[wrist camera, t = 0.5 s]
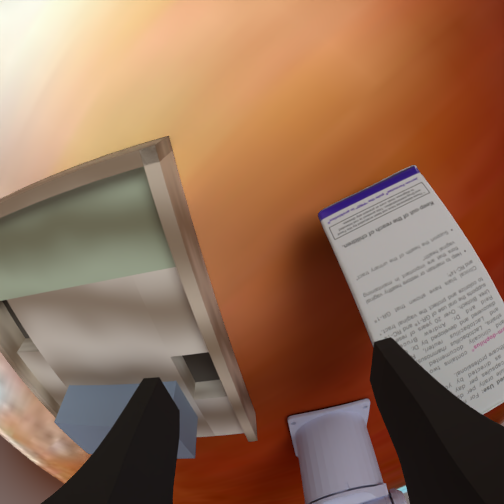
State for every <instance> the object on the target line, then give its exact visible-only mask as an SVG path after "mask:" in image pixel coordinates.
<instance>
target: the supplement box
mask: <svg viewBox="0 0 504 504" xmlns="http://www.w3.org/2000/svg"><path fill="white" fill-rule="evenodd" d="M318 217H319V220H320V222H321V224H322V226H323V229H324V231H325V233H326V235H327V238H328V240H329V242H330V244H331V247H332V249H333V251H334V253H335V256H336V258H337V260H338V263H339V265H340V267H341V269H342V272H343V274H344V276H345V279H346V281H347V283H348V286H349V288H350V290H351V293H352V295H353V298H354V300H355V302H356V305H357V307H358V310H359V312H360V315H361V317H362V320H363V322H364V324H365V327H366V329H367V332H368V334H369V337H370V340H371V342H372V345H373V347H374V342H375V341H379V340H383V339H386V338H390V337H391V338H393V339H394V340H395V341H396V342H397V343H398V344H399V345H400V346H401V347H402V348H403V349H404V350H405V351H406V352H407V353H408V354H409V355H410V356H411V357H412V358H413V359H414V360H415V361H416V362H417V363H418V364H419V365H420V366H422V367H423V368H424V369H425V370H426V371H427V372H428V373H429V374H430V375H431V376H433V377H434V378H435V379H436V380H437V381H438V382H439V383H441V384H442V385H443V386H444V387H445V388H446V389H448V390H449V391H450V392H452V393H453V394H454V395H455V396H457V397H458V398H459V399H460V400H462V401H463V402H465V403H466V404H467V405H469V406H470V407H472V408H473V409H475V410H476V411H478V412H479V413H481V414H482V415H483V414H484V413H486V412H488V411H490V410H491V409H493V408H495V407H496V406H498V405H500V404H501V403H503V402H504V303H503V301H502V299H501V297H500V295H499V293H498V291H497V289H496V287H495V285H494V283H493V282H492V280H491V278H490V276H489V275H488V273H487V271H486V269H485V268H484V266H483V264H482V262H481V261H480V259H479V257H478V256H477V254H476V252H475V251H474V249H473V247H472V246H471V244H470V243H469V241H468V239H467V238H466V236H465V235H464V233H463V232H462V230H461V229H460V227H459V226H458V224H457V223H456V221H455V220H454V218H453V217H452V215H451V214H450V213H449V211H448V210H447V208H446V207H445V205H444V204H443V203H442V201H441V200H440V198H439V197H438V196H437V194H436V193H435V192H434V190H433V189H432V188H431V186H430V185H429V183H428V182H427V181H426V179H425V178H424V177H423V176H422V174H421V173H420V172H419V170H418V169H417V167H416V166H415V165H412V166H410V167H407V168H405V169H403V170H401V171H399V172H397V173H395V174H393V175H391V176H389V177H387V178H385V179H383V180H381V181H379V182H377V183H375V184H373V185H371V186H369V187H367V188H365V189H363V190H361V191H359V192H357V193H355V194H353V195H350V196H348V197H346V198H344V199H342V200H340V201H338V202H336V203H334V204H332V205H330V206H328V207H327V208H324V209H323V210H321V211H320V212H319V213H318Z"/></svg>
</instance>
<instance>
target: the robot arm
mask: <svg viewBox="0 0 504 504" xmlns="http://www.w3.org/2000/svg"><path fill="white" fill-rule="evenodd" d="M370 382H371V385H372V389H373V392H374V396H375V399H376V403H377V406H378V408H379V411H380V413H381V415H382V418H383V420H384V423H385V425H386V427H387V430H388V432H389V435H390V437H391V440H392V442H393V444H394V447H395V449H396V452H397V454H398V457H399V460H400V463H401V467H402V470H403V474H404V478H405V482H406V487H407V491H408V496H409V501H410V504H504V427H503V426H502V425H500V424H498V423H496V422H494V421H492V420H490V419H489V418H487V417H486V416H484V415H482V414H481V413H479V412H478V411H476V410H475V409H473V408H472V407H470V406H469V405H467V404H466V403H465V402H463V401H462V400H460V399H459V398H458V397H457V396H455V395H454V394H453V393H452V392H450V391H449V390H448V389H446V388H445V387H444V386H443V385H442V384H441V383H439V382H438V381H437V380H436V379H435V378H434V377H433V376H431V375H430V374H429V373H428V372H427V371H426V370H425V369H424V368H423V367H422V366H420V365H419V364H418V363H417V362H416V361H415V360H414V359H413V358H412V357H411V356H410V355H409V354H408V353H407V352H406V351H405V350H404V349H403V348H402V347H401V346H400V345H399V344H398V343H397V342H396V341H395V340H394V339H393V338H391V337H390V338H386V339H383V340H379V341H375V342H374V348H373V358H372V367H371V375H370ZM369 408H370V400H369V399H363V400H359V401H355V402H352V403H348V404H344V405H339V406H335V407H331V408H326V409H322V410H317V411H312V412H307V413H302V414H297V415H292V416H289V417H288V425H289V429H290V433H291V438H292V442H293V446H294V450H295V455H296V456H297V457H299V464H300V470H301V477H302V484H303V491H304V497H305V504H407V502H406V500H405V497H404V495H403V493H402V492H401V491H399V490H396V489H395V488H392V489H390V490H387V486H386V483H383V480H382V477H381V473H380V470H379V466H378V463H377V460H376V456H375V453H374V450H373V446H372V443H371V440H370V437H369V433H368V430H367V427H366V426H367V420H368V414H369ZM179 437H180V410H179V409H178V407H177V405H176V404H175V402H174V401H173V399H172V397H171V396H170V394H169V392H168V391H167V389H166V387H165V386H164V384H163V382H162V381H161V379H160V377H154V378H143V380H142V381H141V383H140V384H139V386H138V387H137V389H136V391H135V392H134V394H133V395H132V397H131V399H130V400H129V402H128V403H127V405H126V407H125V408H124V410H123V411H122V413H121V414H120V416H119V417H118V419H117V420H116V422H115V424H114V425H113V427H112V428H111V430H110V431H109V432H108V434H107V435H106V437H105V438H104V439H103V441H102V442H101V443H100V445H99V446H98V448H97V449H96V450H95V452H94V453H93V454H92V455H91V457H90V458H89V459H88V460H87V461H86V462H85V464H84V465H83V466H82V467H81V468H80V469H79V470H78V471H77V472H76V473H75V474H74V475H73V476H72V477H71V478H70V479H69V480H68V481H67V482H66V483H65V484H64V485H63V486H62V487H61V488H60V489H59V490H58V491H56V492H55V493H54V494H53V495H52V496H50V497H49V498H48V499H46V500H45V501H44V502H42V503H41V504H173V485H174V476H175V468H176V461H177V453H178V445H179ZM388 491H389V494H388Z"/></svg>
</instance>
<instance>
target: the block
mask: <svg viewBox="0 0 504 504" xmlns="http://www.w3.org/2000/svg"><path fill="white" fill-rule="evenodd" d="M163 384H164V386H165V387H166V389H167V391H168V392H169V394H170V396H171V397H172V399H173V401H174V402H175V404H176V405H177V407H178V409H179V410H180V437H179V445H178V453H177V459H180V458H195V450H196V435H197V421H198V416H197V415H196V413H195V412H194V410H193V408H192V407H191V405H190V403H189V402H188V400H187V398H186V397H185V395H184V393H183V392H182V390H181V388H180V386H179V385H178V383H177V381H168V382H163ZM138 386H139V384H120V385H69V387H68V389H67V391H66V394H65V396H64V399H63V401H62V404H61V406H60V409H59V411H58V414H57V417H56V419H55V423H56V424H57V425H58V426H59V427H60V428H61V429H62V430H63V431H64V432H65V433H66V434H67V435H68V436H69V437H70V438H71V439H72V440H73V441H74V442H75V443H77V444H78V445H79V446H80V447H81V448H82V449H83V450H84V451H86V452H87V453H88V454H93V453H94V452H95V450H96V449H97V448H98V446H99V445H100V443H101V442H102V441H103V439H104V438H105V437H106V435H107V434H108V432H109V431H110V430H111V428H112V427H113V425H114V424H115V422H116V420H117V419H118V417H119V416H120V414H121V413H122V411H123V410H124V408H125V407H126V405H127V403H128V402H129V400H130V399H131V397H132V395H133V394H134V392H135V391H136V389H137V387H138Z"/></svg>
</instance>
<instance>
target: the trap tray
mask: <svg viewBox="0 0 504 504" xmlns="http://www.w3.org/2000/svg"><path fill="white" fill-rule="evenodd" d="M0 352H1V353H2V354H3V356H4V357H5V359H6V360H7V361H8V363H9V364H10V365H11V366H12V368H13V369H14V370H15V372H16V373H17V374H18V375H19V377H20V378H21V379H22V380H23V382H24V383H25V384H26V385H27V386H28V388H29V389H30V390H31V391H32V392H33V393H34V395H35V396H36V397H37V398H38V399H39V400H40V401H41V403H42V404H43V405H44V406H45V407H46V408H47V409H48V410H49V411H50V412H51V413H52V414H53V415H54V417H55V418H56V417H57V414H58V411H59V409H60V406H61V404H62V401H63V399H64V396H65V394H66V391H67V389H68V387H69V385H120V384H140V383H141V381H142V380H143V378H154V377H160V379H161V381H162V382H168V381H177V383H178V385H179V386H180V388H181V390H182V392H183V393H184V395H185V397H186V398H187V400H188V402H189V403H190V405H191V407H192V408H193V410H194V412H195V413H196V415H197V416H198V421H197V435H196V437H206V436H219V435H230V434H240V433H245V435H246V437H247V439H248V441H249V442H251V441H257V428H256V414H255V411H254V408H253V405H252V403H251V400H250V397H249V395H248V392H247V389H246V386H245V383H244V381H243V378H242V375H241V372H240V369H239V366H238V364H237V361H236V358H235V355H234V352H233V349H232V346H231V343H230V340H229V337H228V334H227V331H226V328H225V325H224V322H223V319H222V316H221V313H220V310H219V307H218V304H217V301H216V298H215V295H214V292H213V288H212V285H211V282H210V279H209V276H208V273H207V269H206V266H205V263H204V260H203V256H202V253H201V250H200V246H199V243H198V240H197V236H196V233H195V229H194V226H193V223H192V219H191V216H190V212H189V209H188V205H187V202H186V198H185V195H184V191H183V187H182V184H181V180H180V176H179V173H178V169H177V165H176V162H175V158H174V154H173V150H172V146H171V142H170V139H169V136H166V137H163V138H159V139H156V140H152V141H149V142H146V143H142V144H139V145H136V146H132V147H129V148H126V149H123V150H120V151H117V152H114V153H111V154H108V155H105V156H102V157H99V158H97V159H94V160H91V161H88V162H85V163H83V164H80V165H77V166H75V167H72V168H70V169H67V170H65V171H62V172H60V173H57V174H55V175H52V176H50V177H47V178H45V179H43V180H40V181H38V182H36V183H33V184H31V185H29V186H27V187H24V188H22V189H20V190H18V191H16V192H14V193H12V194H9V195H7V196H5V197H3V198H1V199H0Z"/></svg>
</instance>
